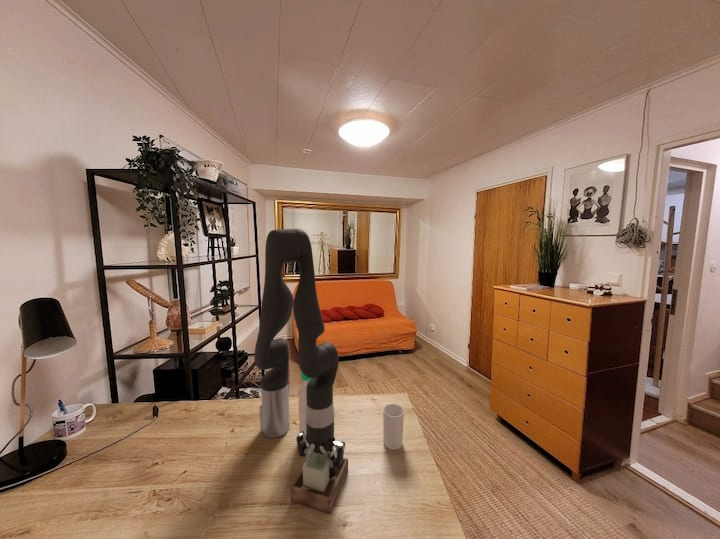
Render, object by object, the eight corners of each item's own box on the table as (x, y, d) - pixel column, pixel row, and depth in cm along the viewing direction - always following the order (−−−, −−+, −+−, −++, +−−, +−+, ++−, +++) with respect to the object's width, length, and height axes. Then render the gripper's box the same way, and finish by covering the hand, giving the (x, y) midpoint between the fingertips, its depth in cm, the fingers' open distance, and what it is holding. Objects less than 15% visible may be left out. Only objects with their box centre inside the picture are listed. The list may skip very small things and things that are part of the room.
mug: (402, 452, 87) (403, 418, 85) (382, 449, 88) (382, 415, 86) (403, 430, 97) (403, 399, 95) (384, 427, 98) (384, 397, 96)
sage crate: (303, 486, 72) (302, 466, 71) (318, 460, 80) (318, 441, 79) (323, 493, 70) (323, 472, 69) (337, 465, 78) (336, 446, 77)
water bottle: (324, 436, 94) (323, 368, 90) (312, 450, 87) (311, 378, 84) (307, 430, 96) (306, 364, 93) (295, 443, 90) (292, 373, 87)
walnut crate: (290, 501, 71) (290, 487, 70) (314, 461, 83) (313, 449, 83) (330, 514, 67) (329, 500, 67) (348, 470, 80) (348, 458, 79)
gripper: (289, 420, 71) (291, 477, 73) (339, 432, 67) (340, 492, 69) (303, 403, 78) (304, 456, 81) (349, 413, 74) (349, 468, 76)
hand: (321, 472), depth 75 cm, fingers closed on sage crate, 6 cm apart
